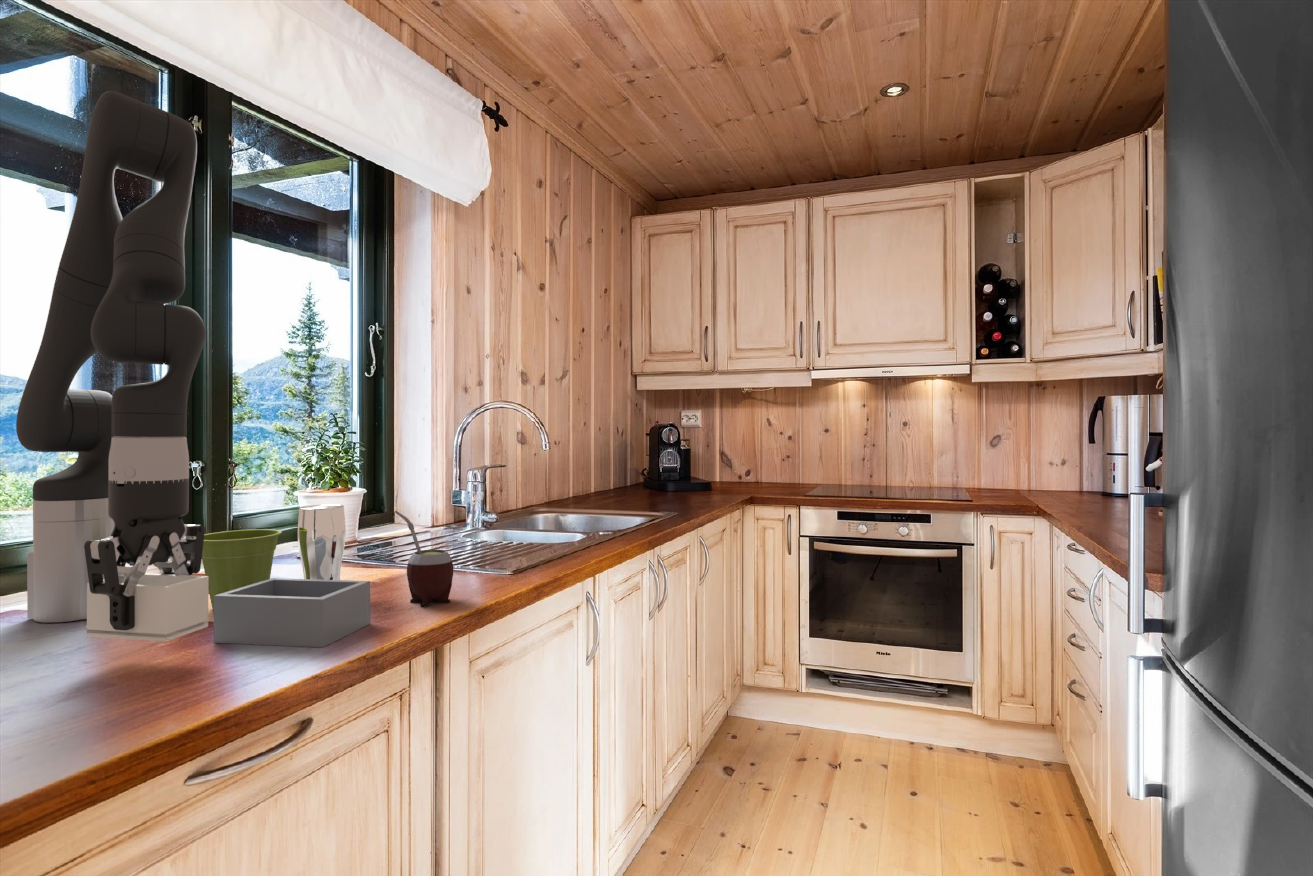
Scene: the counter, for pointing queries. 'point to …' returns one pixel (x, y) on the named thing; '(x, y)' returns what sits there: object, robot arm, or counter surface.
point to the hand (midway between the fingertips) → (148, 620)
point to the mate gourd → (428, 573)
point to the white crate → (155, 608)
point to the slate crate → (291, 612)
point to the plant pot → (238, 558)
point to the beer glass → (321, 540)
